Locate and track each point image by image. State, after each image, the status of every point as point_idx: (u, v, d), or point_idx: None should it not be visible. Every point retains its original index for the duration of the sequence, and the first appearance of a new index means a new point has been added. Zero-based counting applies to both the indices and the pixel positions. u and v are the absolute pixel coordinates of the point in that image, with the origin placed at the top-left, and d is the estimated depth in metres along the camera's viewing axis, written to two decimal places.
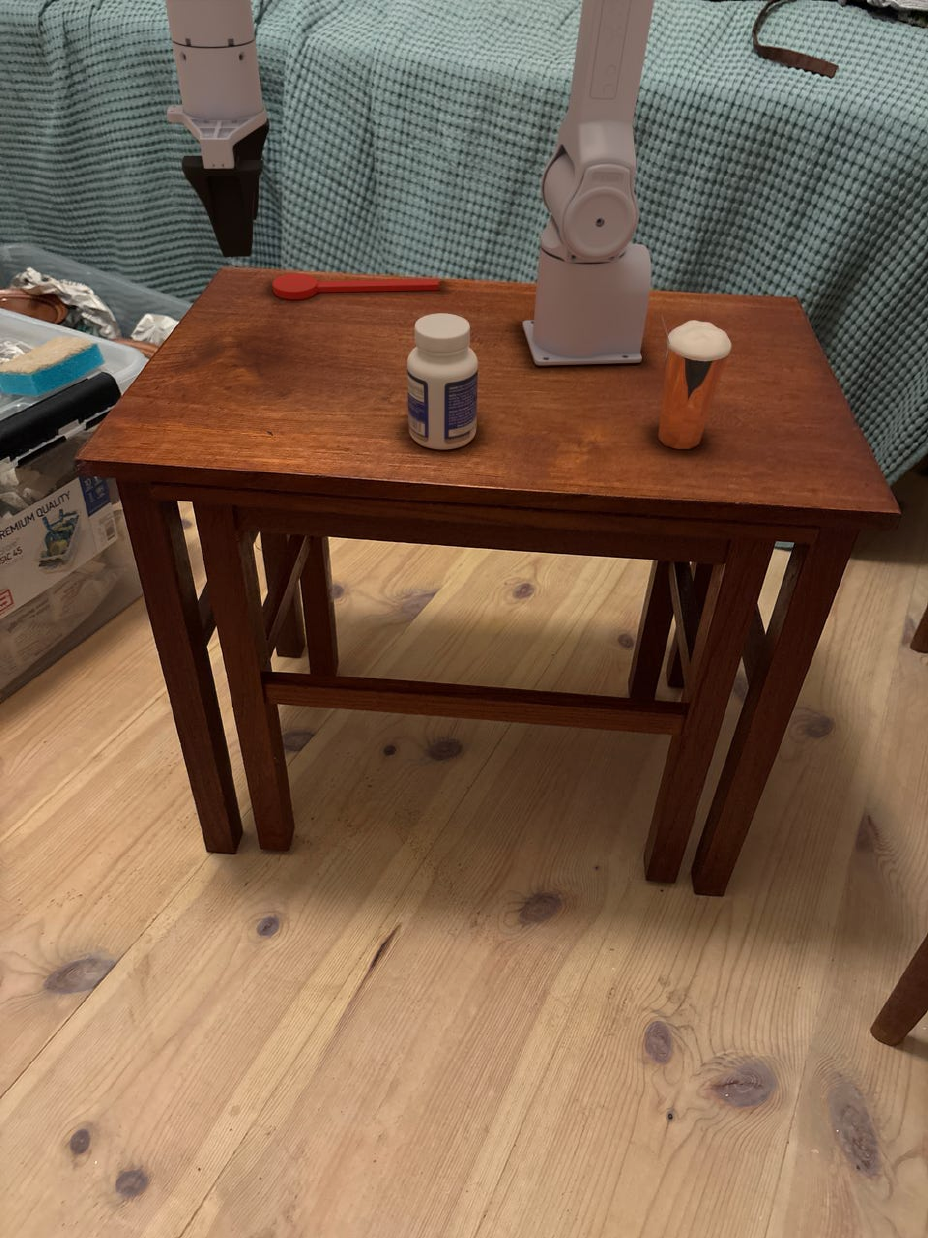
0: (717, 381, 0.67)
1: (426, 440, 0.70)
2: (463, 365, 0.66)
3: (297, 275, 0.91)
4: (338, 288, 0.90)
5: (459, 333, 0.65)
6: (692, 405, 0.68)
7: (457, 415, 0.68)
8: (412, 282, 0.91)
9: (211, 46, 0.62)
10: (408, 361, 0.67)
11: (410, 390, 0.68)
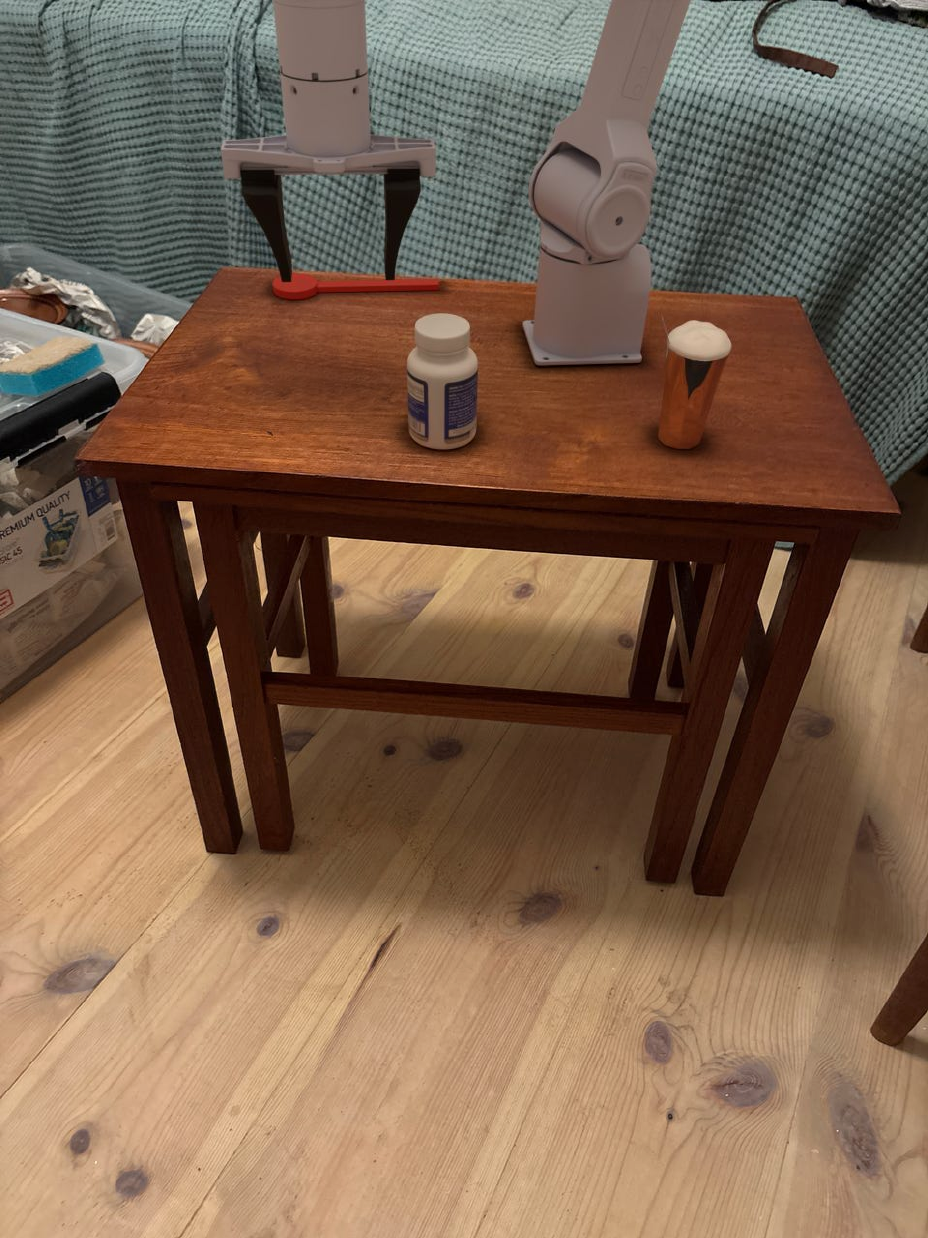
0: (717, 381, 0.67)
1: (426, 440, 0.70)
2: (463, 365, 0.66)
3: (297, 275, 0.91)
4: (338, 288, 0.90)
5: (459, 333, 0.65)
6: (692, 405, 0.68)
7: (457, 414, 0.68)
8: (412, 282, 0.91)
9: (367, 68, 0.60)
10: (408, 361, 0.67)
11: (410, 390, 0.68)
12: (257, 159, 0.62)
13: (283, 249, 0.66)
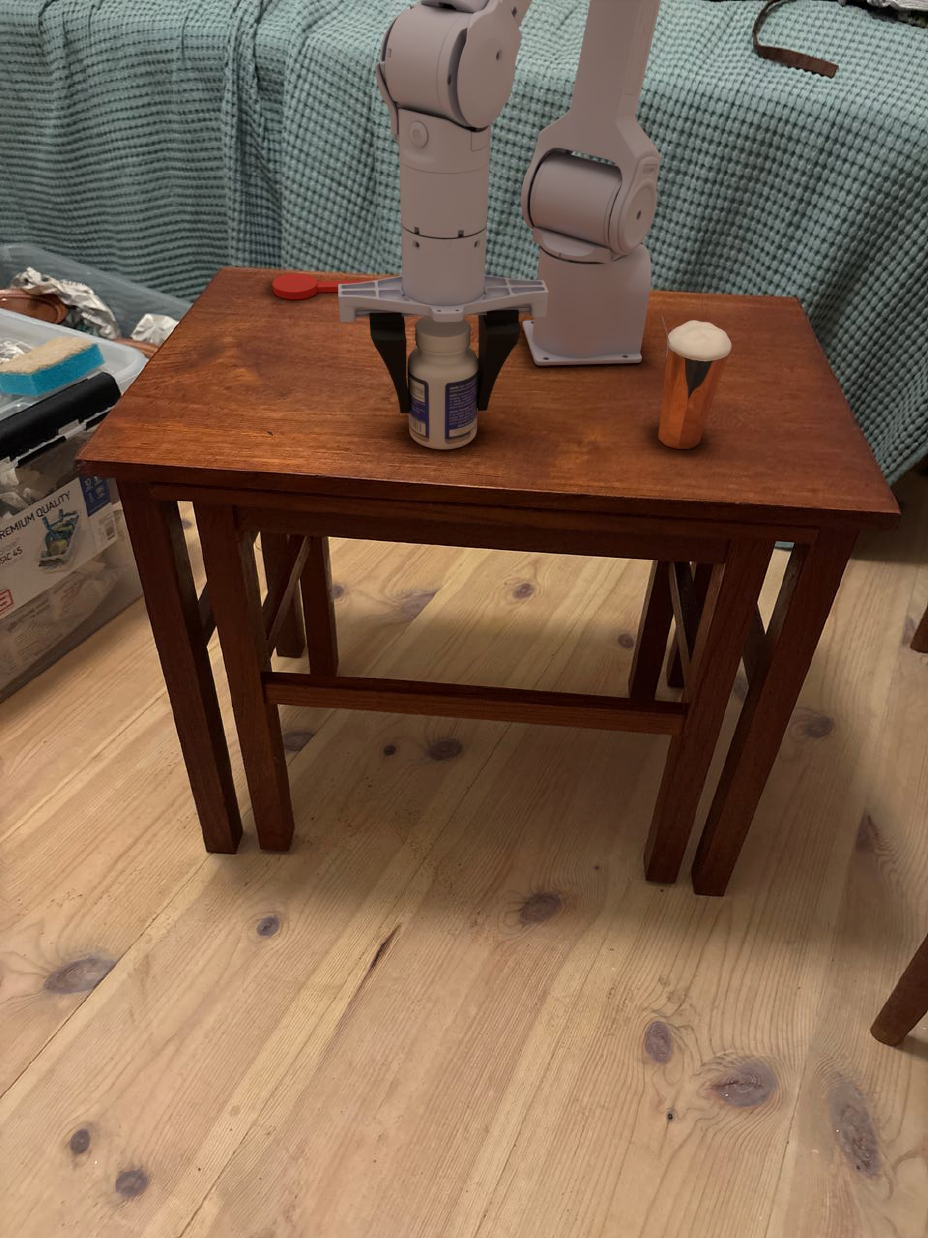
0: (717, 381, 0.67)
1: (426, 440, 0.70)
2: (463, 365, 0.66)
3: (297, 275, 0.91)
4: None
5: (460, 333, 0.65)
6: (693, 405, 0.68)
7: (457, 414, 0.68)
8: None
9: None
10: (409, 361, 0.67)
11: (410, 390, 0.68)
12: (374, 306, 0.63)
13: (405, 385, 0.67)
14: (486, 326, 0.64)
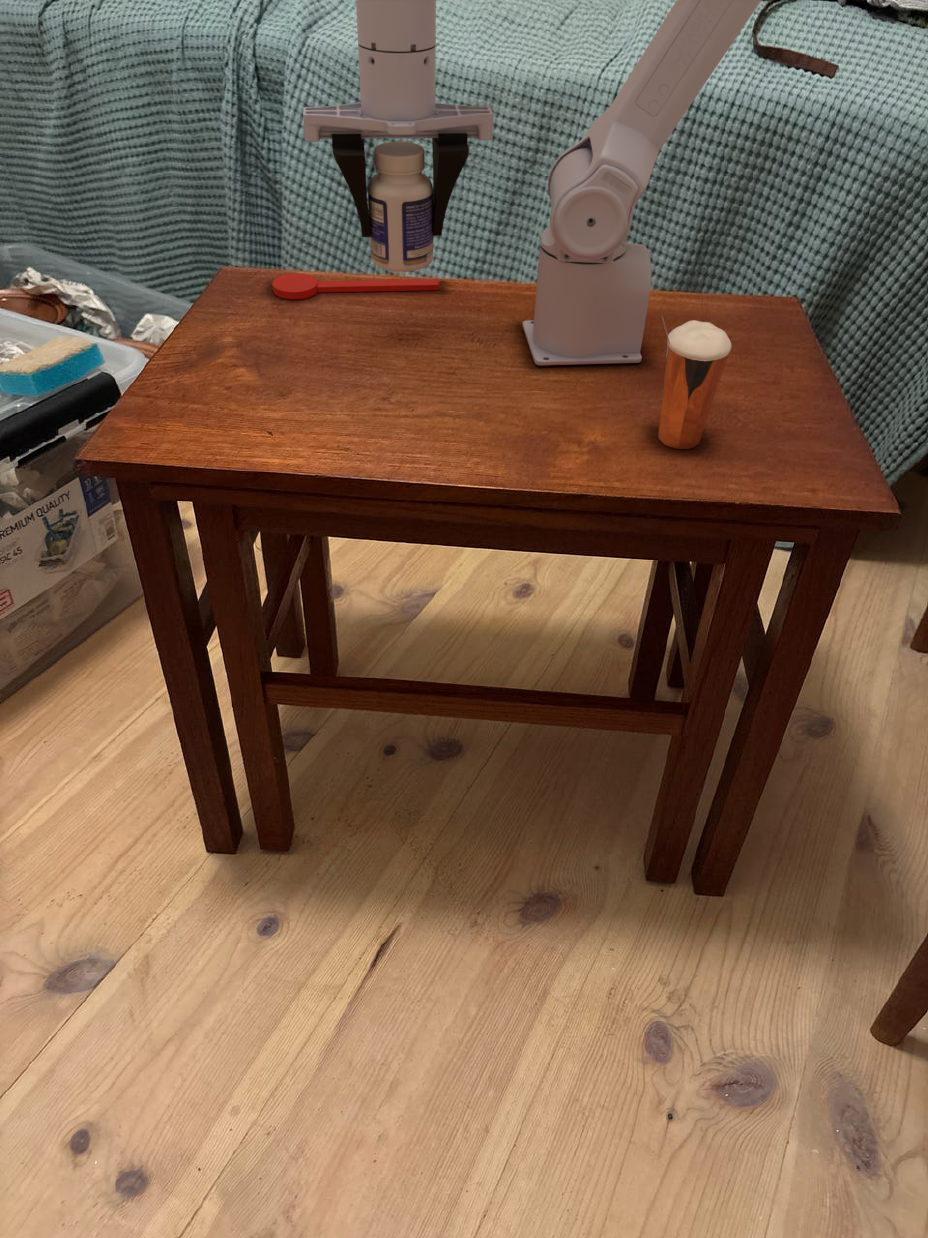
0: (717, 381, 0.67)
1: (386, 262, 0.76)
2: (418, 186, 0.73)
3: (297, 275, 0.91)
4: (338, 288, 0.90)
5: (414, 154, 0.72)
6: (693, 405, 0.68)
7: (414, 235, 0.75)
8: (412, 282, 0.91)
9: (435, 42, 0.68)
10: (369, 185, 0.74)
11: (371, 213, 0.75)
12: (335, 123, 0.69)
13: (366, 206, 0.74)
14: (437, 146, 0.71)
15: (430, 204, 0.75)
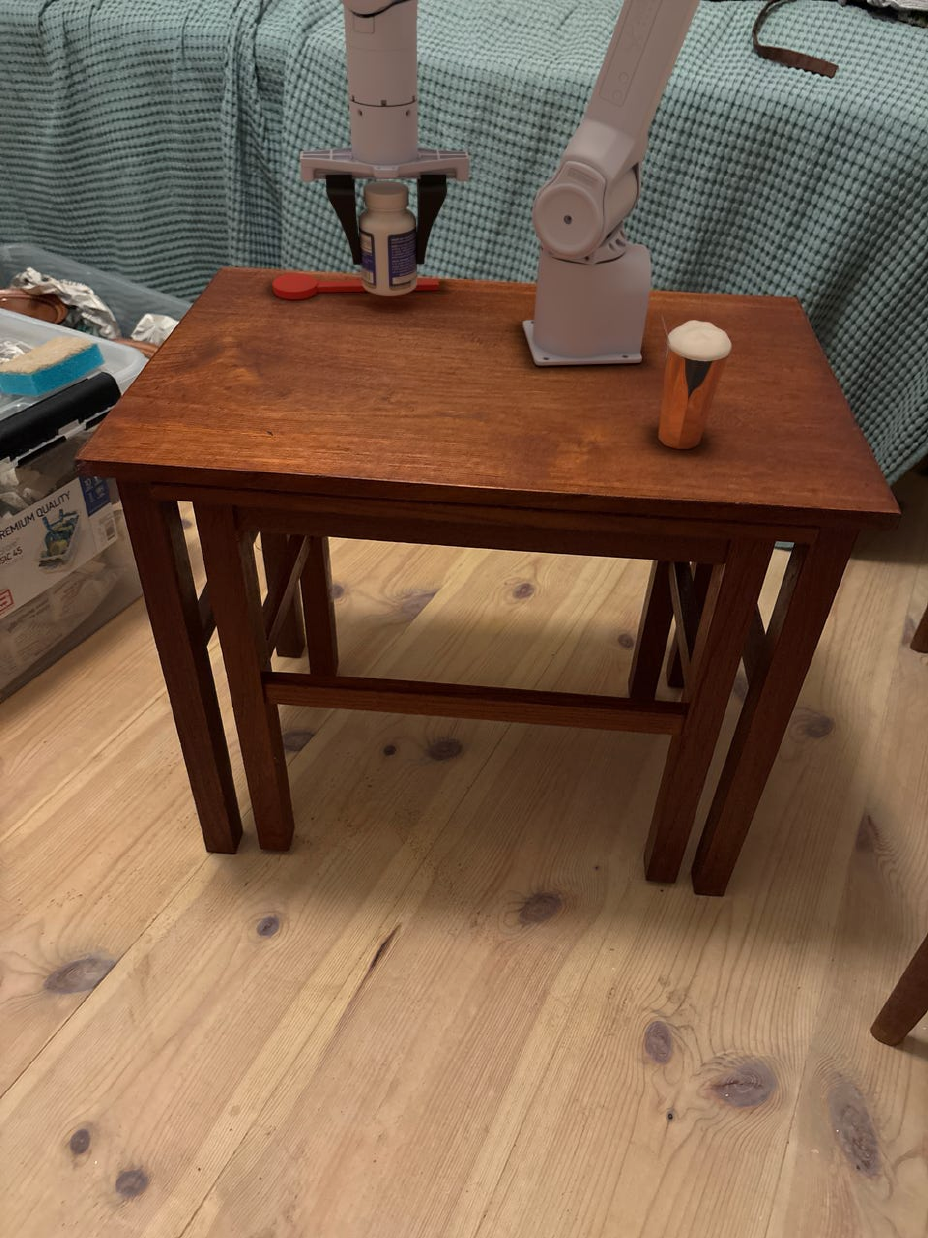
0: (717, 381, 0.67)
1: (374, 288, 0.85)
2: (402, 221, 0.82)
3: (297, 275, 0.91)
4: (338, 288, 0.90)
5: (398, 193, 0.80)
6: (692, 405, 0.68)
7: (398, 264, 0.84)
8: None
9: None
10: (359, 219, 0.83)
11: (361, 243, 0.84)
12: (328, 166, 0.78)
13: (356, 238, 0.83)
14: (419, 186, 0.80)
15: (413, 236, 0.83)
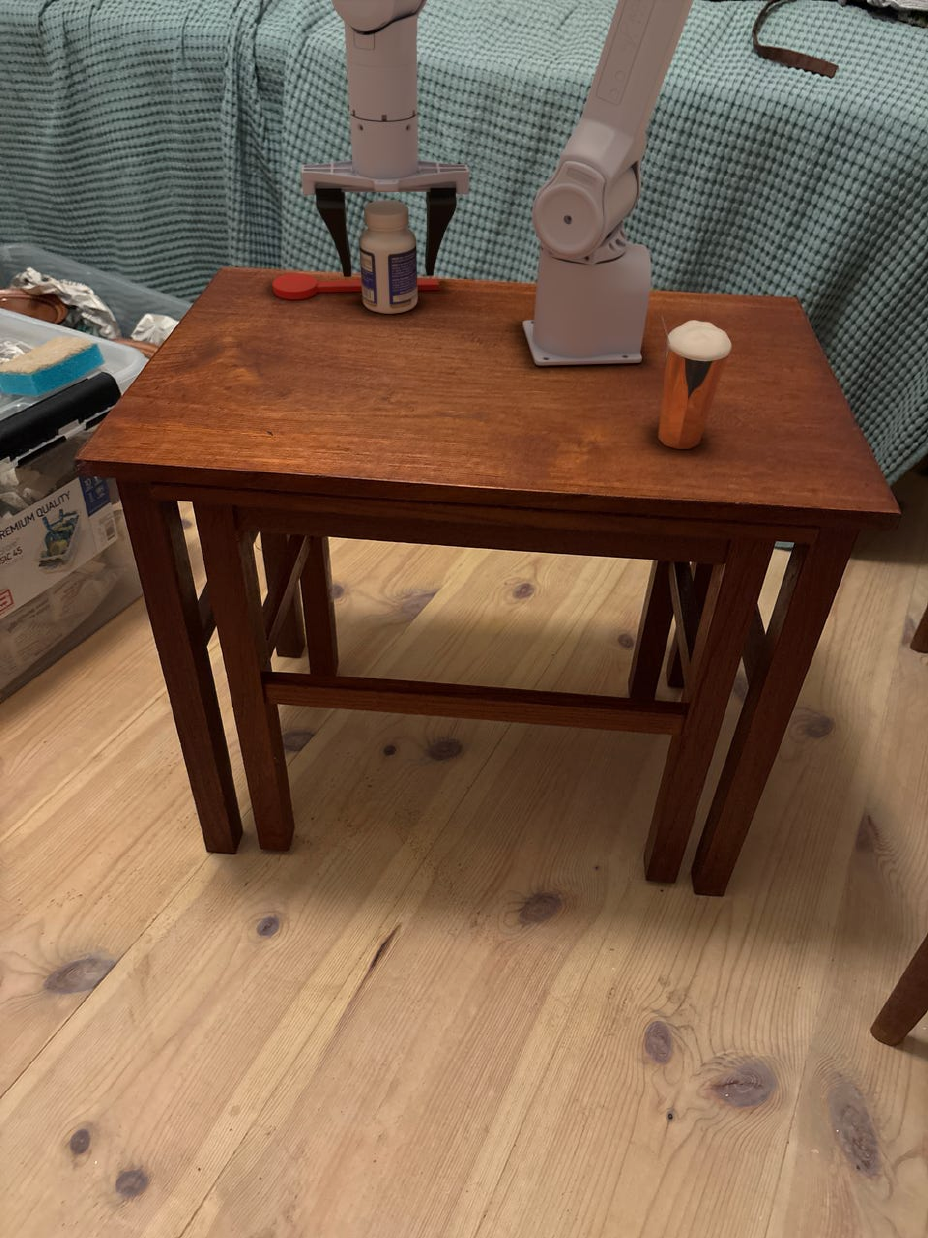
0: (717, 381, 0.67)
1: (375, 305, 0.86)
2: (402, 240, 0.83)
3: (297, 275, 0.91)
4: (338, 288, 0.90)
5: (399, 213, 0.82)
6: (692, 405, 0.68)
7: (399, 282, 0.85)
8: None
9: None
10: (360, 238, 0.84)
11: (361, 262, 0.85)
12: (329, 180, 0.79)
13: (346, 250, 0.83)
14: (429, 199, 0.81)
15: (413, 255, 0.85)
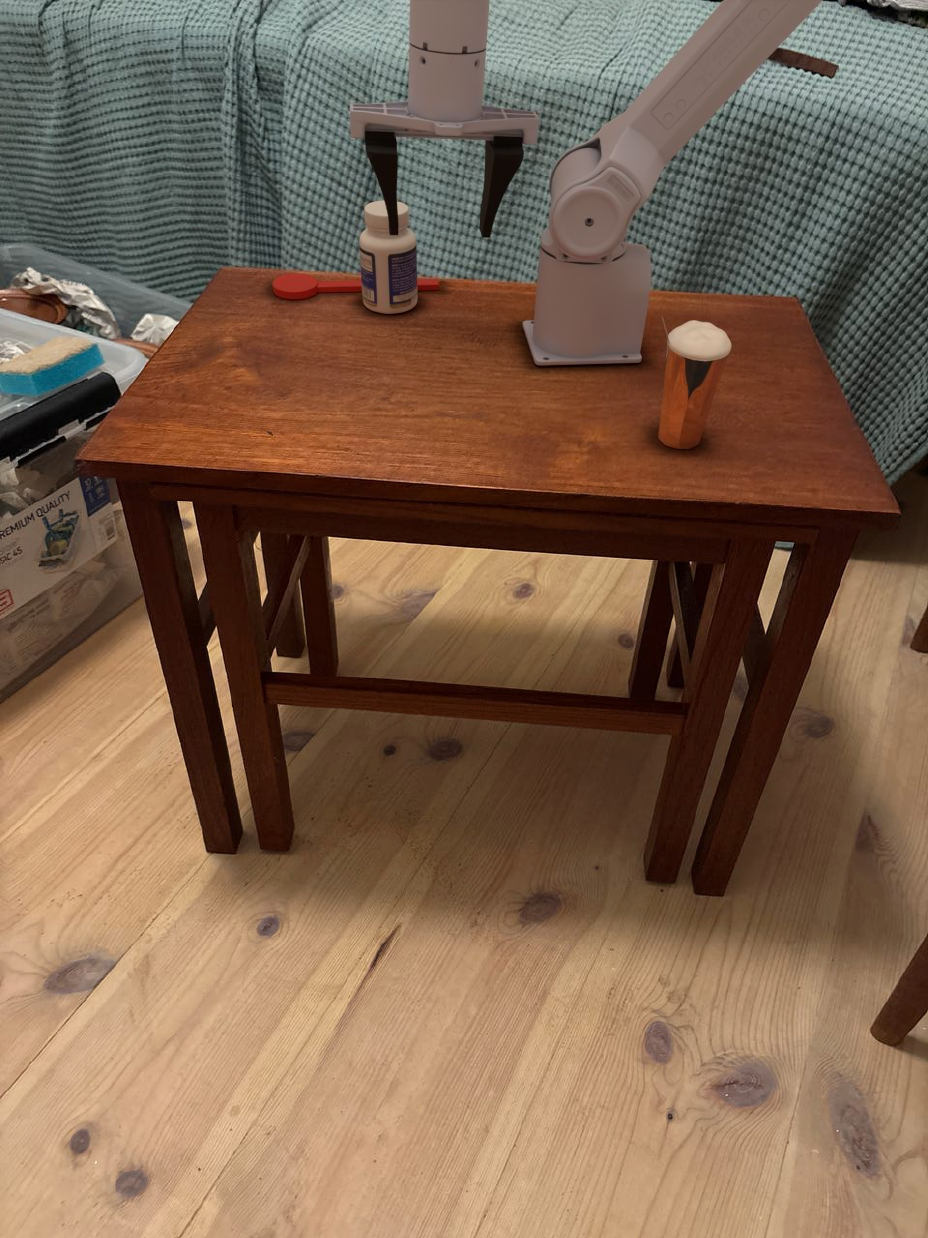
0: (717, 381, 0.67)
1: (375, 305, 0.86)
2: (402, 240, 0.83)
3: (297, 275, 0.91)
4: (338, 288, 0.90)
5: (399, 213, 0.82)
6: (693, 405, 0.68)
7: (399, 282, 0.85)
8: None
9: (485, 44, 0.68)
10: (360, 238, 0.84)
11: (361, 262, 0.85)
12: (382, 121, 0.70)
13: (395, 204, 0.74)
14: (493, 148, 0.72)
15: (413, 255, 0.85)
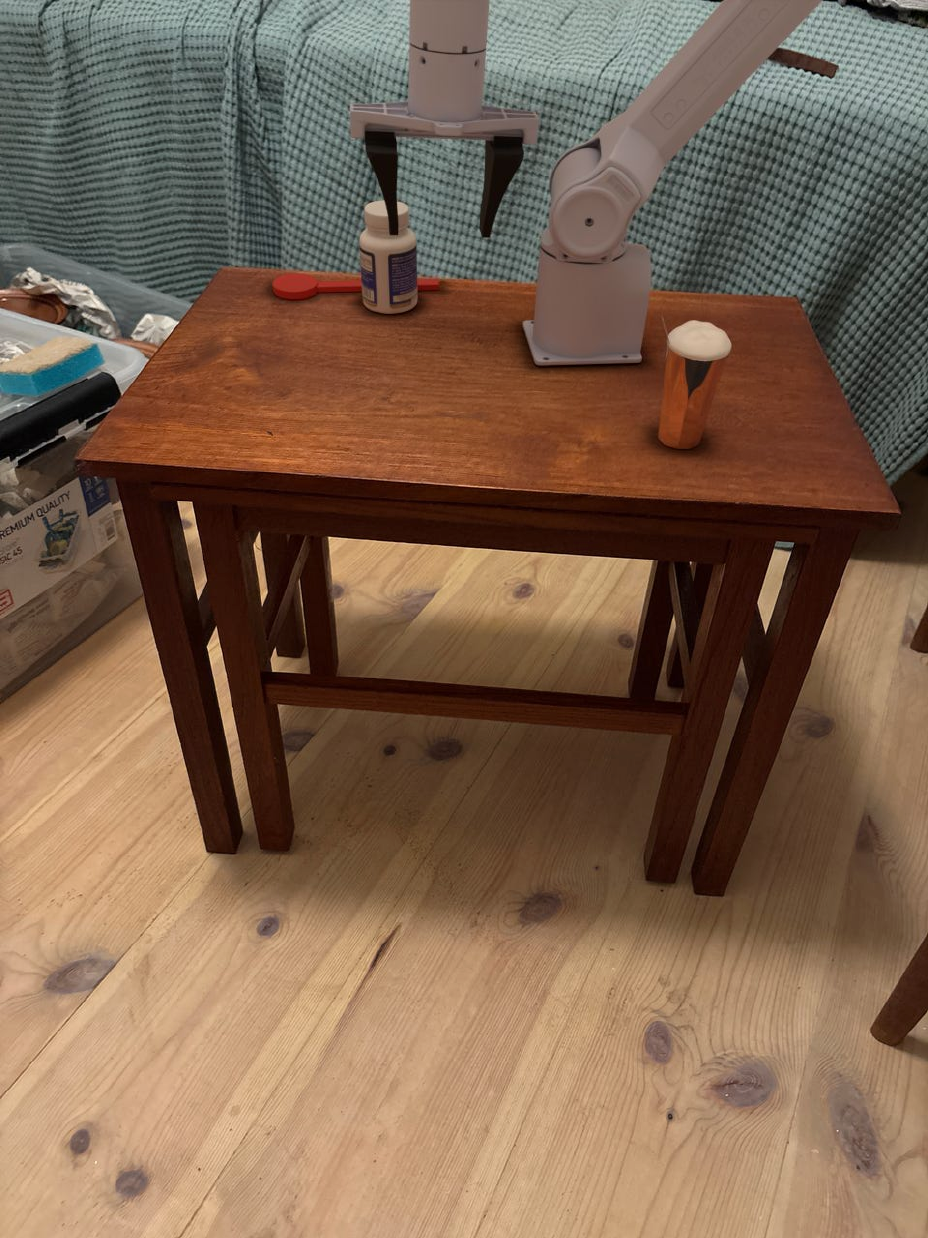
0: (717, 381, 0.67)
1: (375, 305, 0.86)
2: (402, 240, 0.83)
3: (297, 275, 0.91)
4: (338, 288, 0.90)
5: (399, 213, 0.82)
6: (692, 405, 0.68)
7: (399, 282, 0.85)
8: None
9: (485, 44, 0.68)
10: (360, 238, 0.84)
11: (361, 262, 0.85)
12: (382, 121, 0.70)
13: (395, 204, 0.74)
14: (493, 148, 0.72)
15: (414, 255, 0.85)
